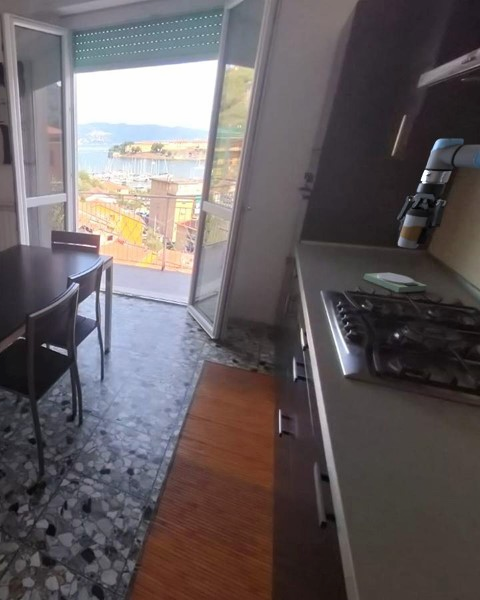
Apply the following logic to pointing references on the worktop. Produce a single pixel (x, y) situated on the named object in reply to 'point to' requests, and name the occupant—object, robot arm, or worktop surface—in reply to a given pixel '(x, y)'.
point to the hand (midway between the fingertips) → (410, 241)
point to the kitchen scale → (395, 282)
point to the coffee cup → (413, 227)
